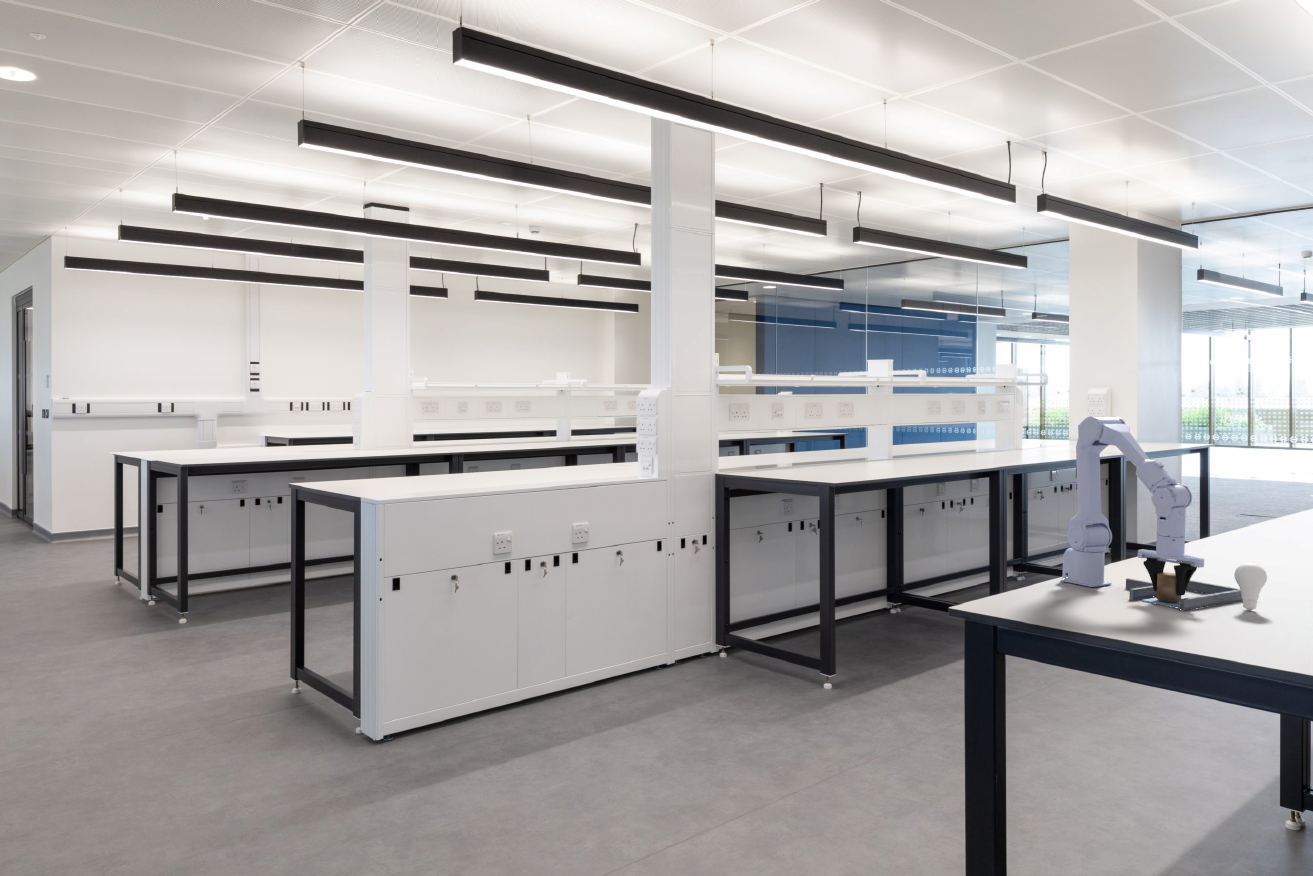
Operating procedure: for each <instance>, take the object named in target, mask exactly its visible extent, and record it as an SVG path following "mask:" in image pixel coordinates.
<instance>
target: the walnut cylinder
mask: <svg viewBox="0 0 1313 876" xmlns="http://www.w3.org/2000/svg"><path fill="white" fill-rule="evenodd" d="M1156 598H1157V599H1158V600H1162V601H1168V602H1180V599H1182V595H1181V596H1179V595H1177V594H1176V575H1175V572H1165V571H1163V572H1160V573H1157V597H1156Z"/></svg>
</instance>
